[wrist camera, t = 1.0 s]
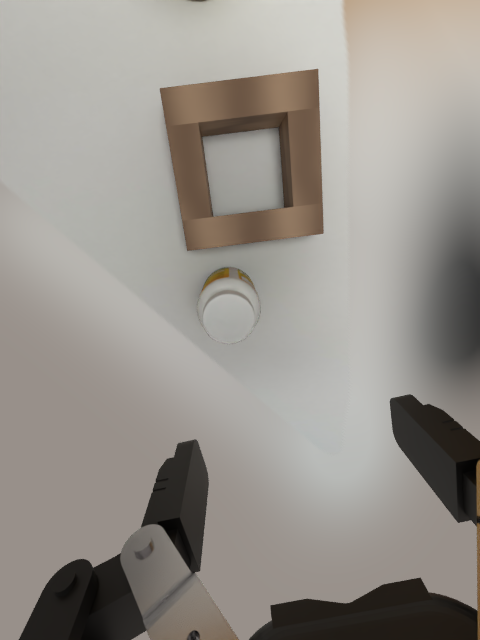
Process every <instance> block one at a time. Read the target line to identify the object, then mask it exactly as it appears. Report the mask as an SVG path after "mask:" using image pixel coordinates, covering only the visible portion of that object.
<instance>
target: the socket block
mask: <svg viewBox="0 0 480 640" xmlns="http://www.w3.org/2000/svg"><path fill="white" fill-rule="evenodd" d="M160 93H161V99H162V105H163V110H164V116H165V122H166V128H167V134H168V140H169V146H170V152H171V157H172V163H173V169H174V175H175V181H176V187H177V193H178V199H179V204H180V210H181V216H182V222H183V228H184V234H185V240H186V246H187V251H189V250H197V249H205V248H213V247H221V246H229V245H237V244H245V243H253V242H261V241H268V240H276V239H284V238H292V237H300V236H308V235H316V234H323V204H322V173H321V142H320V111H319V80H318V69H314V70H306V71H297V72H289V73H281V74H273V75H265V76H257V77H248V78H240V79H232V80H224V81H216V82H208V83H200V84H191V85H183V86H175V87H167V88H160ZM276 127H279V136H280V150H281V165H282V179H283V194H284V208H280V209H272V210H264V211H256V212H248V213H240V214H232V215H224V216H217V217H213V212H212V204H211V197H210V190H209V183H208V176H207V169H206V161H205V154H204V147H203V140H202V137H204V136H212V135H220V134H228V133H236V132H244V131H252V130H260V129H268V128H276Z"/></svg>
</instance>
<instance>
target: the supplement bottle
mask: <svg viewBox="0 0 480 640" xmlns="http://www.w3.org/2000/svg"><path fill="white" fill-rule="evenodd" d="M260 309H261V307H260V300H259V297H258V295H257V292H256V290H255V287H254V285H253V282H252V281H251V279H250V278H249V276H248V275H247V274H246V273H244V272H243V271H241V270H239V269H237V268H231V267H228V268H222V269H219V270H217V271H215V272H214V273H212V274H211V275H210V276H209V277H208V279H207V280H206V282H205V284H204V287H203V289H202V292H201V294H200V297H199V299H198V304H197V313H198V317H199V320H200V322H201V324H202V326H203V327H204V329H205V331H206V332H207V334H208V335H209V336H210V337H211V338H212V339H214V340H215V341H217V342H220V343H224V344H234V343H237V342H240V341H242V340H244V339H245V338H246V337H247V336H248V335H249V334H250V333H251V331H252V330H253V328H254V326H255V325H256V323H257V322H258V319H259V316H260Z"/></svg>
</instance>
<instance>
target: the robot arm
mask: <svg viewBox="0 0 480 640" xmlns="http://www.w3.org/2000/svg"><path fill="white" fill-rule="evenodd" d="M390 409H391V418H392V427H393V434H394V437H395V440H396V442H397V443H398V445H399V447H400V448H401V450H402V451H403V452H404V453H405V455H406V456H407V457H408V459H409V460H410V461H411V462H412V464H413V465H414V466H415V468H416V469H417V470H418V472H419V473H420V474H421V475H422V477H423V478H424V479H425V481H426V482H427V483H428V485H429V486H430V487H431V488H432V490H433V491H434V492H435V493H436V495H437V496H438V497H439V499H440V500H441V501H442V503H443V504H444V505H445V507H446V508H447V509H448V510H449V512H450V513H451V514H452V515H453V517H454V518H455V519H456V521H457V522H458V523H459V522H464V521H469V520H472V522H473V523H474V524H475V525H476V526H477V596H478V598H477V603H478V611H477V610H475V609H474V608H472V607H470V606H468V605H466V604H464V603H462V602H460V601H458V600H455V599H453V598H450V597H447V596H443V595H440V594H435V593H429V592H428V591H427V589H426V587H425V585H424V583H423V582H422V580H421V578H416V579H411V580H406V581H400V582H394V583H389V584H384V585H381V586H380V587H378V588H376V589H374V590H372V591H371V592H369V593H367V594H365V595H364V596H362V597H360V598H358V599H356V600H355V601H353V602H351V603H346V604H345V603H336V602H328V601H320V600H312V599H303V600H297V601H293V602H287V603H281V604H276V605H271V616H272V621H270V622H268V623H267V624H265V625H264V626H263V627H262V628H260V629H259V630H258V631H257V632H256V633H255V634H254V635H253V636H252V637H251V638H250V639H249V640H480V441H479V440H478V439H476V438H475V437H474V436H473V435H472V434H470V433H469V432H468V431H467V430H466V429H463V427H462V426H461V425H460V424H459V423H458V422H456V421H454V419H453V418H451V417H450V416H449V415H448V414H447V413H446V412H444V411H443V410H441V409H439V408H437V407H434V406H432V405H430V404H427V405H422V404H421V403H420V402H419V401H418V400H417V399H416V398H415V397H414V396H413V395H405V396H400V397H395V398H391V400H390ZM208 485H209V482H208V473H207V469H206V465H205V462H204V459H203V456H202V453H201V450H200V447H199V444H198V441H197V440H191V441H187V442H182V443H178V445H177V448H176V452H175V456H174V458H169V459H167V460H166V461H165V462H164V464H163V465H162V466H161V468H160V469H159V472H158V475H157V478H156V483H155V484H154V488H153V493H152V494H151V498H150V500H149V503H148V507H147V510H146V513H145V516H144V519H143V523H142V526H141V528H140V529H139V530H137V531H136V532H135V533H133V534H132V535H131V536H130V538H129V539H128V540H127V541H126V543H125V544H124V546H123V548H122V551H121V553H120V554H119V555H117V556H115V557H113V558H112V559H110V560H108V561H106V562H104V563H102V564H100V565H98V566H96V567H94V568H93V567H92V565H91V563H90V562H89V561H88V560H85V559H79V560H75V561H73V562H71V563H69V564H67V565H65V566H64V567H62V568H61V569H60V570H59V571H58V572H57V573H56V574H55V575H54V576H53V577H52V578H51V579H50V580H49V582H48V583H47V585H46V586H45V588H44V590H43V591H42V593H41V596H40V598H39V600H38V602H37V604H36V606H35V608H34V610H33V612H32V614H31V616H30V618H29V620H28V622H27V624H26V626H25V628H24V631H23V633H22V634H21V637H20V639H19V640H131V639H133V638H135V637H136V636H138V635H139V634H141V633H143V632H145V631H146V630H147V633H148V635H149V638H150V640H239V639H238V637H237V636H236V634H235V633H234V631H233V630H232V629H231V627H230V625H229V624H228V622H227V620H226V619H225V617H224V616H223V614H222V613H221V611H220V610H219V608H218V607H217V605H216V604H215V602H214V600H213V599H212V597H211V596H210V594H209V593H208V592H207V590H206V588H205V587H204V585H203V583H202V582H201V580H200V579H199V577H198V576H197V575H196V574H195V572H198V571H200V565H201V556H202V546H203V536H204V525H205V515H206V506H207V495H208Z"/></svg>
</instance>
